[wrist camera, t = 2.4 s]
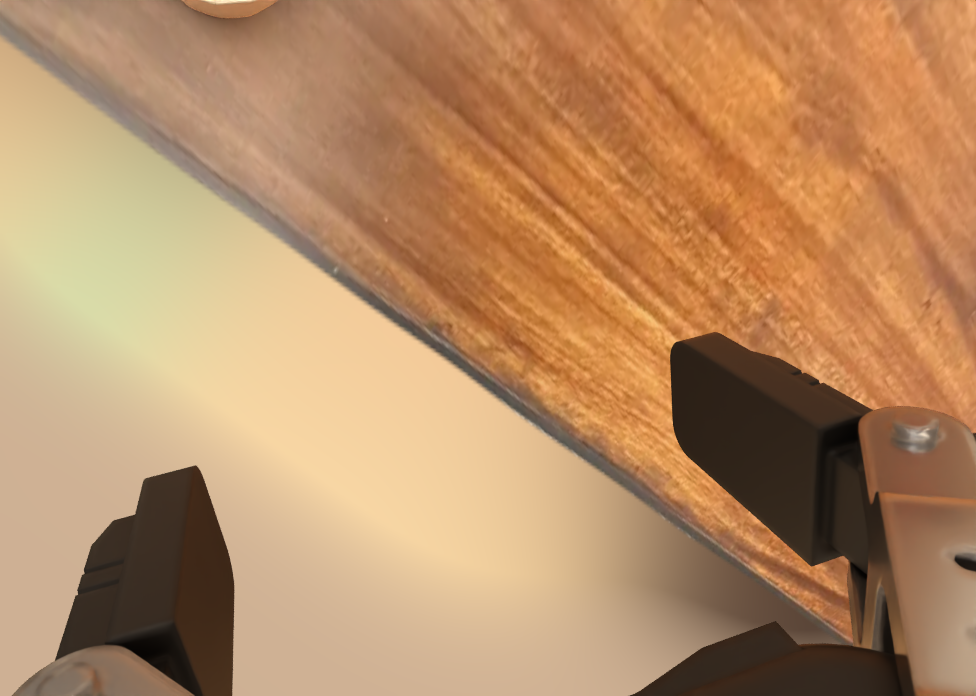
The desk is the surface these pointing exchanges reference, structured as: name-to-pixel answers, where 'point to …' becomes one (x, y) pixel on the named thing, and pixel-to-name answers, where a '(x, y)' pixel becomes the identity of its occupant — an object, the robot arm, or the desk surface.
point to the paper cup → (229, 7)
